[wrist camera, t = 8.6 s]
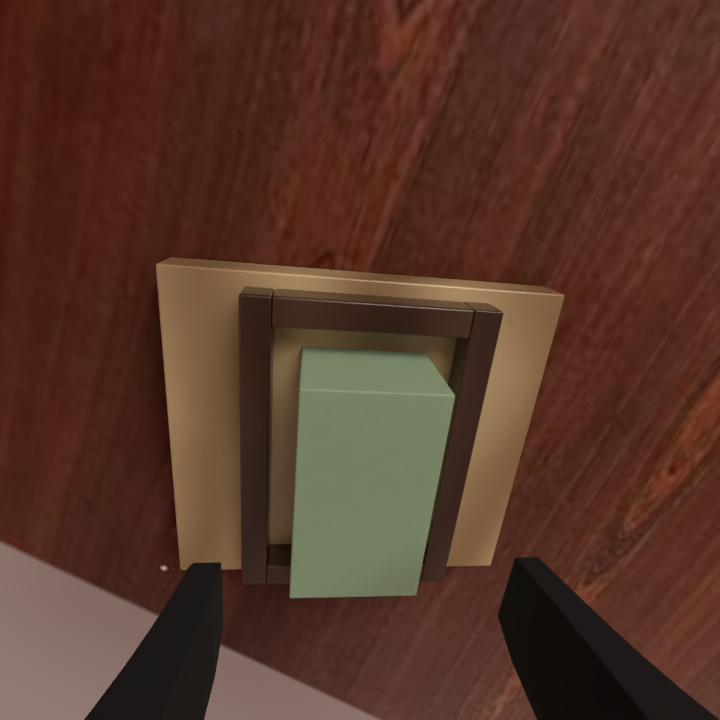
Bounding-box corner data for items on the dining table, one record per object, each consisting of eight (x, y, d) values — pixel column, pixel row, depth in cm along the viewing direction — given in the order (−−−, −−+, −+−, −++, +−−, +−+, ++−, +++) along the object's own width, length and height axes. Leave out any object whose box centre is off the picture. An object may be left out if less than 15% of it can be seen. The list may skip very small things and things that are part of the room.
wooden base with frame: (189, 543, 19) (170, 596, 17) (169, 256, 15) (140, 270, 12) (479, 542, 21) (501, 589, 19) (544, 286, 16) (585, 303, 14)
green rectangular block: (293, 524, 18) (289, 599, 14) (301, 345, 15) (298, 389, 12) (398, 524, 18) (416, 596, 15) (426, 352, 15) (456, 395, 12)
